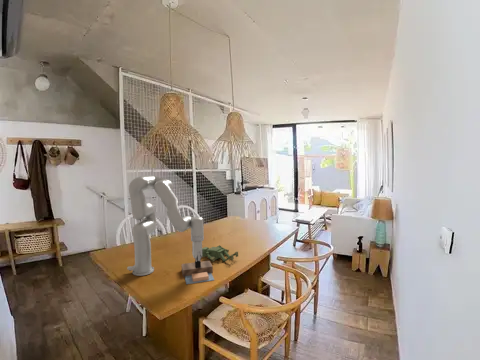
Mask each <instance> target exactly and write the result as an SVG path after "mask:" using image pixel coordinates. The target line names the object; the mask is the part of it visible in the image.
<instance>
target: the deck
mask: <svg viewBox="0 0 480 360" xmlns="http://www.w3.org/2000/svg"><path fill="white" fill-rule="evenodd" d="M211 262H212V261H211V260H205V261H201V268H195V261H194V262H185V263H181V272H182V278H185V276H190V275H192V274H196V273H203V272H207V273H212V274H213V272H214V269H213V265H212V263H211Z"/></svg>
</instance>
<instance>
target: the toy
mask: <svg viewBox="0 0 480 360" xmlns="http://www.w3.org/2000/svg"><path fill="white" fill-rule="evenodd" d="M229 251H230V249H226V248H224V247H223V246H222V245H218V246H212V247H207V246H204V247H202V258H207V259H210V260H209V261H210V262H212V263H213V262H215V261H216V260H218V259H221V261H222V262H224V263H226V262H227V261H228V260H231V261H234V260H235V258H237V257H239V251H235V252H234V253H232V254H231V255H230V254H229V253H230V252H229ZM225 257H226V258H225ZM234 257H235V258H234Z"/></svg>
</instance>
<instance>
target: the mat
mask: <svg viewBox="0 0 480 360" xmlns="http://www.w3.org/2000/svg"><path fill="white" fill-rule="evenodd" d="M208 276H209V280H202V281H195V282H193V280H192V275H190V276H185V277H184V279H185V284H186V285H190V284H197V283H198V284H199V283H206V282H211V281H213V282H214V281H215V278H214V276H213V273H208Z"/></svg>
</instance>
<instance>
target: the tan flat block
mask: <svg viewBox="0 0 480 360" xmlns="http://www.w3.org/2000/svg"><path fill="white" fill-rule="evenodd" d="M192 280H193V282H195V281H202V280H209V276H208V273H207V272H203V273H196V274H192Z"/></svg>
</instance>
